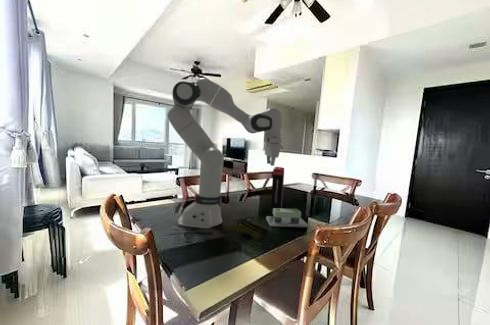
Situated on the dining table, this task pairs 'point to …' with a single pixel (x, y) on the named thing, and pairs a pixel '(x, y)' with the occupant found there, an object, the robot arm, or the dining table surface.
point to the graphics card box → (277, 188)
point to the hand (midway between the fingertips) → (270, 164)
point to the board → (286, 213)
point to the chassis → (286, 221)
